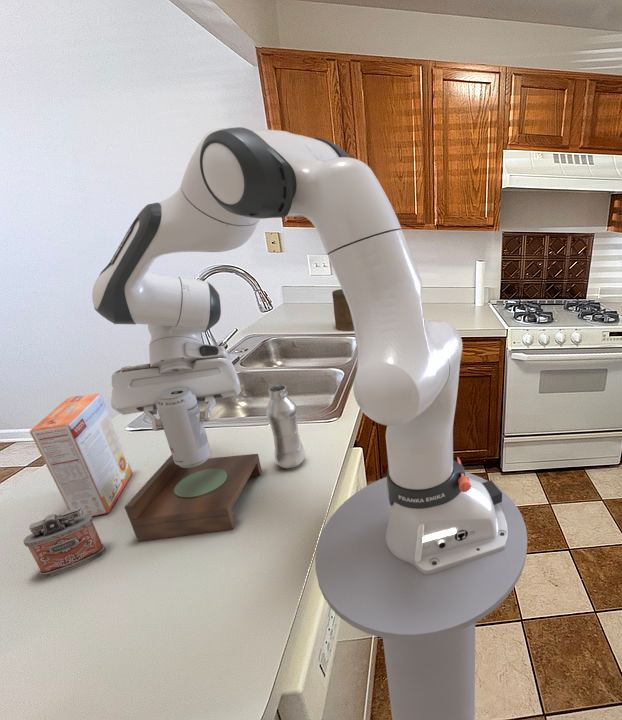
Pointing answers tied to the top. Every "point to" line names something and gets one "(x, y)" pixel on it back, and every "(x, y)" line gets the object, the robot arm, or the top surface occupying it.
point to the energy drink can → (183, 427)
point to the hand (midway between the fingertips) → (182, 425)
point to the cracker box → (83, 454)
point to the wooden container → (342, 311)
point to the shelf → (191, 497)
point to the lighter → (64, 542)
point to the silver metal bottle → (284, 428)
